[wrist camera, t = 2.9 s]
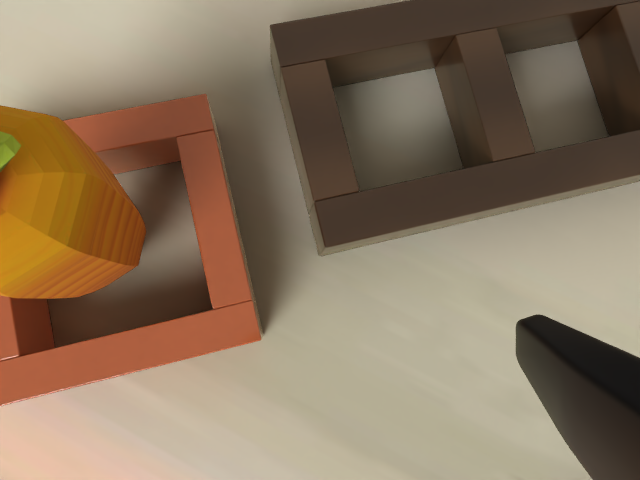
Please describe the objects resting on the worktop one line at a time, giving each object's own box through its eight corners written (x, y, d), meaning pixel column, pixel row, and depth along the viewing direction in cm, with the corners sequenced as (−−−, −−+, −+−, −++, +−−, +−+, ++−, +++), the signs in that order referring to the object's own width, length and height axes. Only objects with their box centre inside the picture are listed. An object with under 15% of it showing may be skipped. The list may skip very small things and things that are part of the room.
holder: (263, 336, 22) (261, 340, 19) (23, 397, 20) (-20, 411, 18) (215, 121, 23) (206, 93, 20) (-14, 165, 22) (-60, 142, 19)
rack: (659, 176, 25) (711, 158, 22) (318, 256, 23) (324, 248, 20) (598, 0, 26) (640, -41, 23) (270, 60, 24) (269, 24, 21)
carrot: (44, 267, 21) (-479, 163, 7) (112, 177, 22) (-214, -94, 7) (138, 328, 21) (-174, 361, 7) (203, 234, 22) (55, 78, 7)
